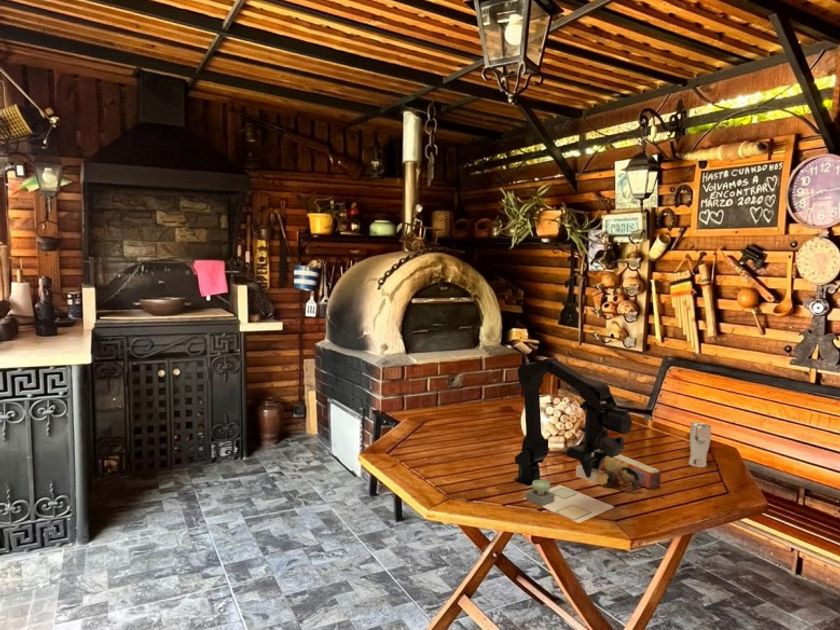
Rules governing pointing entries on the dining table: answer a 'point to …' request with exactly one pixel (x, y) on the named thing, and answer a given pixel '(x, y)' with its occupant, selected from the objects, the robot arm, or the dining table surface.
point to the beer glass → (699, 443)
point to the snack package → (645, 473)
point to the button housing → (540, 497)
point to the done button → (540, 486)
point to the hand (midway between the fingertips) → (591, 476)
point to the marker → (592, 475)
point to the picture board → (575, 504)
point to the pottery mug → (623, 478)
